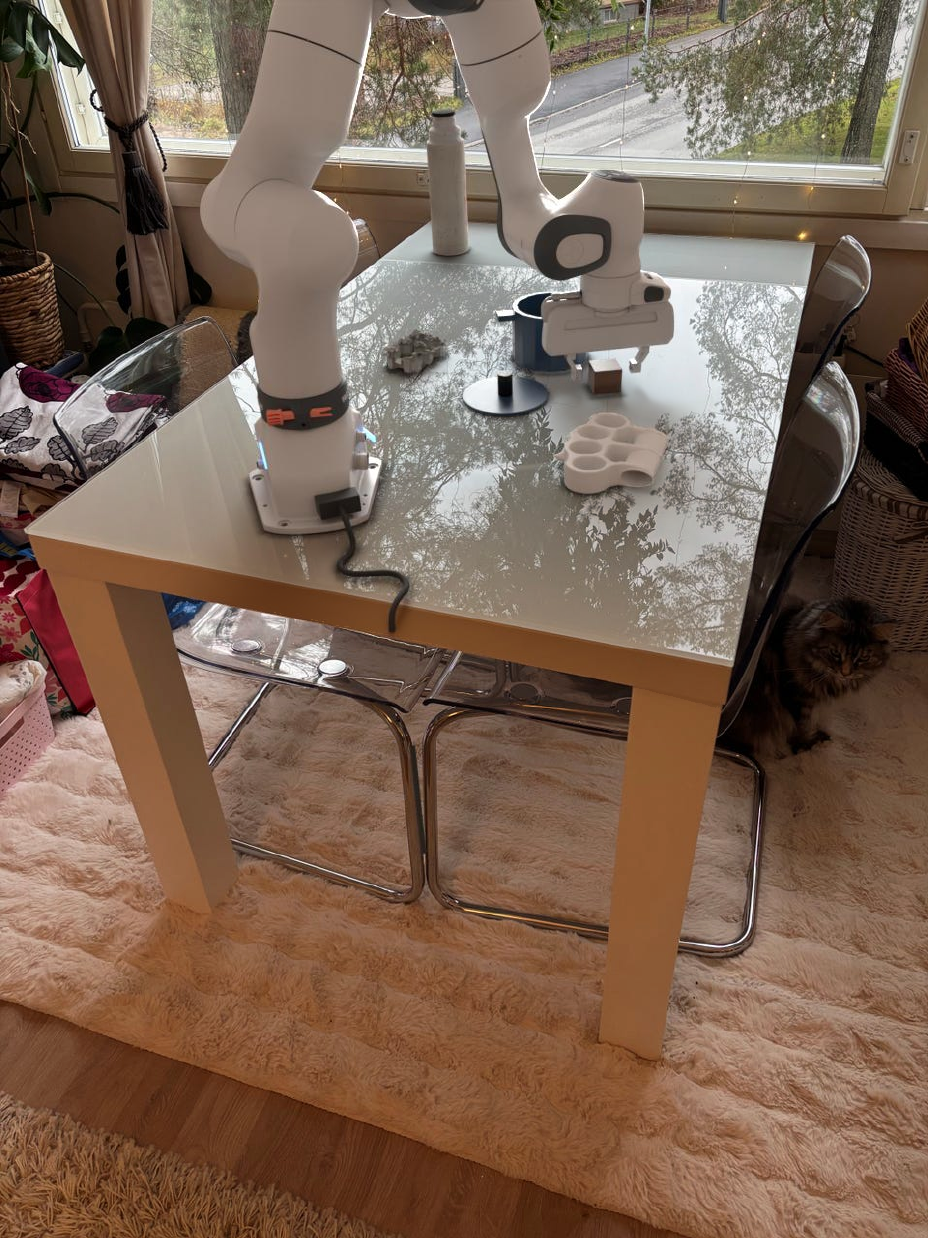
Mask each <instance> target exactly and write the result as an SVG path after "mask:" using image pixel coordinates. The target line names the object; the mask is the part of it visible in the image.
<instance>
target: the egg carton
mask: <svg viewBox="0 0 928 1238" xmlns="http://www.w3.org/2000/svg"><path fill="white" fill-rule="evenodd" d="M447 342H448V341H447V339H444V340H441V339H440V337H439V336H438V335H437V336H434V335H433V334H429V333H428V332H425V333H424V332H422V331H420V330H418V329H414V330H413V331H412V332H411V333H410V334H409V335H407V336H405V337H400V339H398V340H397V341H396V342H394V343H393V344H391V345H387V346H384V347H383V349H382V354H381V356H382V357H386V365H387V366H388V369H391V370H395V369H403V372H404V373H408V374H410V373H413V372H420V371H422V369H423V366H424V365H431V364H432V363H433V360H434V358H442V357H443V356H444V347H446V346H447V345H446V343H447ZM410 355H411V356H410ZM401 356H402V357H401Z"/></svg>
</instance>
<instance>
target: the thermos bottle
mask: <svg viewBox="0 0 928 1238" xmlns="http://www.w3.org/2000/svg"><path fill="white" fill-rule="evenodd" d="M431 117H432V126H431V127H429V129H428V137H429V138H428V139H427V141H426V142H425V143H426V156H427V159H426V160H427V173H428V175H427V177H428V189H429V190H428V192H429V204H430V211H431V212H430V216H431V219H430V220H431V221H430V222H431V236H432V237H431V239H432V251H433V253H434V254H436V255H439V256H458V255H462V254H465V253H467V252H468V251H469V249H470V248H469V223H468V201H467V175H466V173H467V172H466V171H467V170H466V150H465V148H466V147H465V139H464V138H463V137H462V135H461V134H462V131H461V130H462V129H461V127H460V126H459V125H457V118H456V110H455V109H451V108H443V109H442V108H441V109H440V108H439V109H434V110H432V111H431Z"/></svg>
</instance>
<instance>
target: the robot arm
mask: <svg viewBox="0 0 928 1238" xmlns="http://www.w3.org/2000/svg"><path fill="white" fill-rule="evenodd" d="M387 15H391V16H397V17H398V18H399V17H400V18H404V19H419V18H420V19H422V18H426V17H438V18H439V19H440V20H441V21H442V23H443V25H444V26H445V28H446V30H447V32H448V35H449V37H450V40H451V44H452V49H453V51H454V54H455V59H456V62H457V64H458V68H459V71H460V74H461V77H462V79H463V82H464V85H465V88H466V91H467V93H468V95H469V98H470V99H469V100H470V102H471V103H472V106H473V108H474V111H475V114H476V118H477V121H478V123H479V126H480V130H481V135H482V138H483V141H484V142H483V144H484V147H485V150H486V155H487V158H488V161H489V166H490V170H491V173H492V177H493V180H494V185H495V190H496V193H497V194H496V195H497V212H496V232H497V233H496V234H497V237H498V240H499V242H500V244H501V246H502V248H503V249H504V250H505V251H506V252H507V254H509V255H510V256H512V257H514V258H515V259H518V260H520V261H521V262H524V263H525V264H526V265H527V266H529V267H530V268H531V269H533V270H534V271H536V272H538V273H539V274H541V276H543V277H545V278H548V279H549V280H552V281H557V282H558V281H559V282H561V281H568V280H571V279H574V278H578V277H579V278H580V279H579V290H571V291H570V290H569V291H564V292H565V293H553V294H551V296H549V297H547V298H546V299H545V300H544V301H543V302H542V305H541V317H542V320H543V321H544V323H543V331H542V346H543V348H544V350H545V351H546V352H547V353H548V354H549V355H550V356H557V355H564V356H565V358H566V360H567V361H568V363H569V365H570V366H571V369H570V377H571V379H572V380H580V379H583V367H582V365H580V364H579V365H575V364H574V362H573V360H575V359H576V353H586V352H588V353H596V352H604V351H605V352H606V351H614V350H623V349H633V348H634V349H635V348H637V349H638V351H637V352H636V355H635V356H634V358H630V359H629V361H628V363H629V365H628V370H629V372H630V374H638V373H641V372H642V363H643V362H644V361H645V359H647V356H649V355H648V354H649V353H650V347H654V346H664V345H668V344H670V342H671V341H672V339H674V335H675V312H674V307H673V304H671V302H670V301H669V300H670V298H671V296H672V289H671V287H670V285H669V284H668V282H667V281H666V280H665V279H664V278H663V277H662V276H661V275H660V274H658V273H655V272H652V271H647V270H642V263H641V257H640V248H641V245H642V243H643V237H644V225H645V201H644V191H643V187H642V184H641V182H640V181H639V180H638V178H636V177H634V176H633V175H631V174H629V173H626V172H623V171H619V170H614V169H608V168H607V169H604V168H603V169H596V170H592V171H590V172H589V173H588V175H587V176H586V177H585V180H584V181H583V182H582V183H581V184H579V186H578V187H577V188H575V189H574V190H573V191H571V192H570V193H569V194H567V195H565V196H564V197H563V198H561V199H557V198H556V196H554V195H553V194H552V193H550V191H549V190H548V189H547V188H546V187H545V185H544V184H543V182H542V180H541V177H540V175H539V170H538V166H537V160H536V157H535V152H534V149H533V143H532V139H531V134H530V129H529V121H530V116H531V115H532V114H533V113H535V111H537V110H538V109H539V107H540V106H542V103H543V102H544V101H545V98H547V97H546V96H547V95H548V93H549V90H550V87H551V84H552V75H551V62H550V55H549V54H550V53H549V47H548V44H547V39H546V35H545V32H544V31H545V30H544V28H543V24H542V21H541V17H540V14H539V10H538V8H537V3H536V0H274V1H273V5H272V9H271V13H270V16H269V22H268V25H267V32H266V34H265V35H266V36H265V40H264V45H263V50H262V55H261V60H260V64H259V69H258V74H257V77H256V82H255V87H254V92H253V97H252V100H251V103H250V107H249V110H248V113H247V115H246V119H245V121H244V124H243V126H242V129H241V131H240V134H239V135H238V138H237V140H236V142H235V145H234V147H233V148H232V151H231V153H230V155H229V157H228V159H227V161H226V163H225V164H224V167H223V168H222V170H221V172H219V174H218V175H217V176H215V177H214V178H213V179H212V180H211V181H210V182H209V183H208V184H207V186H206V188H205V189H204V191H203V194H202V196H201V200H200V206H199V207H200V209H199V211H200V212H199V213H200V215H199V216H200V220H201V221H200V222H201V223H202V227H203V230H204V231H205V233H206V235H207V236H208V237H209V239H210V240H211V241H212V242H213V244H214V245H215V246H216V247H217V248H218V249H219V250H220V251H221V253H223V255H225V257H227V258H228V259H230V260H232V261H233V262H236V263H238V264H240V265H242V266H244V267H246V268H248V269H251V270H252V272H253V274H254V275H255V278H256V281H257V285H258V286H257V287H258V302H257V313H256V315H255V316H254V317H253V319H252V320H251V323H250V324H249V331H248V332H249V333H248V334H249V338H250V339H249V340H250V344H251V349H252V350H251V351H252V355H253V360H254V365H255V369H256V376H257V381H258V383H257V385H256V393H257V394H256V395H257V396H256V398H257V405H258V406H259V411H260V417H259V418H258V419H257V420H256V422H254V424H253V427H254V431H255V437H256V442H257V447H258V452H259V457H260V459H256V462H255V463H256V467H257V468H256V469H254V470H252V471H250V472H249V474H248V482H249V485H250V488H251V492H252V496H253V499H254V503H255V506H256V509H257V512H258V516H259V519H260V523H261V526H262V529H263V531H265V532H267V533H268V532H269V533H273V534H279V535H307V534H318V533H327V532H332V531H339V530H343V529H345V531H346V534H347V537H348V541H349V547H348V550H347V551H346V553H345V554H344V555H342V557H340V558H339V560H338V561H337V563H336V568H337V570H338V572H340V573H341V575H344V576H347V577H351V578H370V577H390V578H395V579H398V580H399V581H400V582H401V583H402V588H401V590H400V591H399V592H398V593H397V595H396V597H395V598H394V600H393V601H392V603H391V606H390V608H389V612H388V619H387V625H388V632H389V633H391V634H393V633H395V632H396V613H397V610H398V607H399V606H400V604H401V602H402V601H403V600H404V598H405V596H407V594H408V592H409V590H410V586H411V585H410V581H409V579H408V578H407V577H406V576H405V575H404V574H403V573H401V572H399V571H396V570H393V569H371V570H352V569H348V568H346V567H345V566H344V564H346V563H347V561H349V560H350V558H352V556H353V555H354V553H355V550H356V545H357V542H356V537H355V533H354V531H353V528H352V527H354V526H357V525H360V524H362V523H364V522H367V521H368V520H369V519H370V516H371V512H372V510H373V505H374V502H375V499H376V495H377V492H378V488H379V484H380V479H381V478H380V476H381V473H382V468H383V462H382V459H380V458H377V457H374V456H370V455H369V452H368V447H367V438H368V439H369V440H370V441H372V443H376V442H377V438H376V435H374V434H373V433H372V432H370V431H369V430H368V429H367V428H365V426H364V419H363V415H362V413H361V412H359V411H358V410H356V409H355V408H354V407H353V406H352V405H351V403H350V395H349V393H350V389H349V384H348V382H347V376H346V374H345V373H344V372H343V370H342V360H341V352H340V344H339V343H340V342H339V333H338V320H337V319H338V304H339V300H340V299H339V298H340V294H341V293H340V292H341V288H342V285H343V284H344V283H345V282H346V281H347V279H349V278H350V275H351V274H352V272H353V271H354V269H355V267H356V264H357V260H358V257H359V250H360V241H359V235H358V231H357V227H356V225H355V223H354V221H353V220H352V218H351V217H350V215H349V214H348V213H347V212H346V211H345V210H343V209H342V208H341V207H340V206H339V205H338V204H337V203H335V202H334V201H333V200H332V199H330V198H329V197H328V196H327V195H325V194H323V193H322V192H320V191H317V190H314V189H312V188H313V186H314V183H315V182H316V179H317V178H318V175H319V174H320V172H321V170H322V168H323V167H324V165H325V164H326V162H327V160H329V158H330V157H331V156H332V155H333V154H334V153H336V152H337V151H339V149H340V148H341V147H342V146H343V145H344V143H345V142H346V139H347V138H348V135H349V131H350V127H351V122H352V118H353V115H354V111H355V106H356V101H357V98H358V94H359V89H360V85H361V81H362V76H363V72H364V68H365V64H366V58H367V54H368V50H369V44H370V38H371V37H372V35H373V32H374V29H375V27H376V25H377V24H378V22H379V21H380V19H381V18H382V17H383V16H387ZM549 299H551V300H549ZM408 749H409V758H410V766H411V767H410V768H411V776H412V784H413V793H414V794H413V795H414V803H415V813H416V820H417V822H416V823H417V829H418V838H419V845H420V852H421V854H422V855H426V854H427V852H428V851H427V843H426V834H425V826H424V814H423V807H422V797H421V786H420V777H419V767H418V758H417V750H416V745H414V744H412V745H408Z"/></svg>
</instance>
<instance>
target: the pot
mask: <svg viewBox="0 0 928 1238" xmlns="http://www.w3.org/2000/svg"><path fill="white" fill-rule="evenodd" d="M565 292H566V291H552V290H549V291H539V292H533V293H529V294H525V295H522V296H520V297H519V298H516V299H515V300H514V302H513V304H512V305H511V309H508V310H507V309H505V310H496V311H495V318H496V320H497V322H498V323H505V322H512V324H511V325H512V326H511V327H512V328H511V331H512V359H513V361H514V363H515V364H516V365H518V366H519V367H521V368H522V369H525V370H530V371H533V372H543V373H557V372H566V371H569V370H571V366H570V365H569V363H568V361H567V360H566V358H565V356H564V355H557V356H550V355H549V354H548V353H547V352H546V351H545V350H544V348H543V346H542V331H543V323H544V321H543V320H542V317H541V305H542V302H543V301H544V300H545V299H546V298H547V297H549V296H551V294H553V293H565ZM549 300H551V299H549ZM588 357H589V352H586V353H576V359H575V360H573V362H574V364H575V365H579V364H580V365H581V366H582V365H583V364H585V363H586V362H587V359H588Z"/></svg>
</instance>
